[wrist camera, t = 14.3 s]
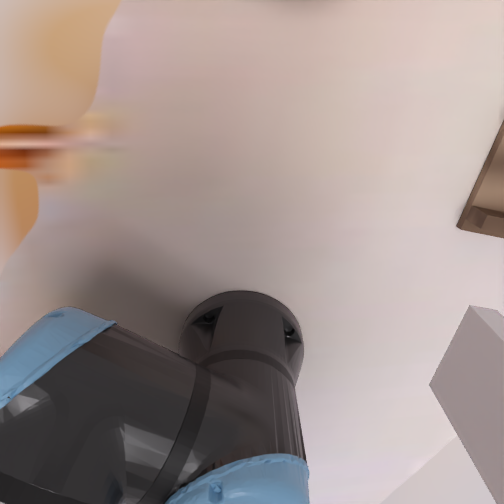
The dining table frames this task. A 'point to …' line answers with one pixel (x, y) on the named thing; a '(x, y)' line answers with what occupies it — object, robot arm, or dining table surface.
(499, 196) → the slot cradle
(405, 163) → the dining table surface
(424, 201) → the dining table surface
